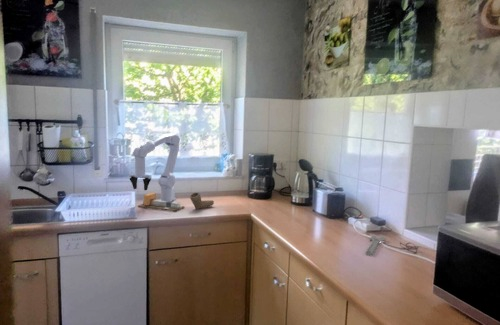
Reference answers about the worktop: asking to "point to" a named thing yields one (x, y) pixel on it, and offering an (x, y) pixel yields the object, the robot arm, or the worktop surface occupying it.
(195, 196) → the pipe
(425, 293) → the worktop surface
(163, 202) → the stand
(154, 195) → the collar
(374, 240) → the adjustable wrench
